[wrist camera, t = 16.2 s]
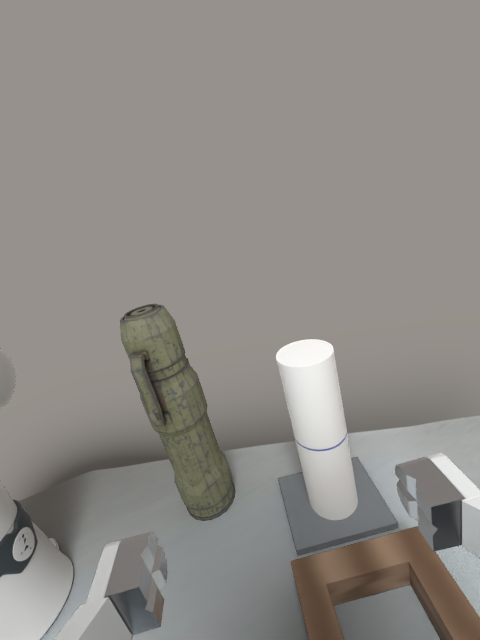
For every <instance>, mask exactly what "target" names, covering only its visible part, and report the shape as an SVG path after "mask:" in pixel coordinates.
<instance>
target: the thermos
mask: <svg viewBox="0 0 480 640" xmlns="http://www.w3.org/2000/svg"><path fill="white" fill-rule="evenodd" d="M120 328H121V340H122V343H123V345H124V348H125V350H126V352H127V355H128V357H129V359H130V363H131V372H132V375H133V377H134V380H135V382H136V385H137V387H138V390H139V392H140V398H141V401H142V403H143V406H144V408H145V410H146V412H147V415H148V417H149V420H150V422H151V425H152V427H153V428H154V430H156V431H157V432H158V433H159V435H160V438H161V440H162V443H163V445H164V447H165V450H166V452H167V454H168V457H169V460H170V462H171V464H172V467H173V469H174V472H175V483H176V486H177V488H178V491H179V493H180V495H181V498H182V500H183V502H184V504H185V505H186V507H187V510H188V511H189V513H190V515H191V516H192V517H194V518H195V519H198V520H202V521H205V520H212V519H214V518H217V517H219V516H220V515H222V514H223V513H224V512H226V511H227V509H228V508H229V507H230V506H231V504H232V502H233V500H234V497H235V488H234V484H233V482H232V476H231V472H230V469H229V466H228V464H227V461H226V458H225V455H224V454H223V453H222V452H221V451H220V450H219V447H218V444H217V441H216V438H215V435H214V432H213V429H212V426H211V423H210V420H209V417H208V415H207V403H206V399H205V396H204V393H203V390H202V387H201V384H200V382H199V378H198V376H197V373H196V372H195V371H194V370H193V368H192V367H191V366H190V364H189V362H188V359H187V358H186V357H185V350H184V347H183V344H182V341H181V338H180V335H179V332H178V330H177V326H176V323H175V321H174V319H173V318H172V316H171V315H170V314H169V312H168V311H167V310H166V308H165V307H164V306H163V305H158V304H149V305H145V306H141V307H138V308H136V309H133V310H131V311H129V312H127V313H126V314H125V315H124V317H122V318H121V320H120Z"/></svg>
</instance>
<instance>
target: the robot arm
mask: <svg viewBox="0 0 480 640" xmlns="http://www.w3.org/2000/svg"><path fill="white" fill-rule="evenodd" d="M15 383H16V375H15V369H14V367H13V364H12V362H11V360H10V359H9V357H8V356H7V354H6V353H5V352H4V351H3V350H2V349H1V348H0V409H1V408H2V407H4V406H5V405H7V404H8V403H9V401H10V399H11V397H12V395H13V392H14V389H15ZM395 474H396V475H397V477H398V478H399V481H398V483H397V491H398V494H399V497H400V500H401V502H402V504H403V506H404V508H405V510H406V511H407V513H408V514H409V516H410V517H412V518H414V519H416V520H417V521H418V525H419V531H420V532H421V534H422V535H423V537H424V538H425V540H426V541H427V542H428V544H429V545H430V547H431V548H432V550H433V551H438V550H442V549H446V548H451V547H455V546H459V545H462V547H464V548H465V549H467V550H468V551H469V552H471V553H472V554H474V555H475V556H477V557H478V558H480V489H479V488H478V487H477V486H476V485H475V484H474V483H473V482H472V481H471V480H470V479H469V478H468V477H467V476H466V475H465V474H464V473H463V472H462V471H461V470H460V469H459V468H458V467H457V466H456V465H455V464H454V463H453V462H451V461H450V460H449V459H448V458H447V457H446V456H445V455H444V454H442V453H438V454H435V455H431V456H427V457H423V458H419V459H416V460H412V461H409V462H405V463H402V464H398V465H396V467H395ZM157 541H158V538H157V536H156V535H155V533H154V532H151V533H147V534H143V535H139V536H134V537H130V538H126V539H122V540H119V541H115V542H111V543H107V544H106V546H105V547H104V549H103V551H102V554H101V557H100V561H99V564H98V567H97V570H96V573H95V576H94V579H93V582H92V585H91V588H90V591H89V594H88V597H87V600H86V603H84V604H81V605H80V606H79V607H78V609H77V610H76V611H75V613H74V614H73V615H72V616H71V618H70V619H69V620H68V622H67V623H66V624H65V626H64V627H63V628H62V629H61V631H60V632H59V633H58V635H57V636H56V637H55V638H54V640H132V638H133V636H132V635H135V634H138V633H142V632H145V631H148V630H151V629H154V628H158V627H161V620H162V612H163V604H164V599H163V597H162V595H161V593H160V592H161V590H162V589H163V587H164V586H165V584H166V579H167V560H166V556H165V553H164V551H163V548H161V547H159V546H157ZM72 581H73V565H72V562H71V560H70V559H69V558H68V557H67V556H66V555H64V554H63V553H62V552H60V551H59V546H58V543H57V542H56V540H55V539H54V538H49V539H48V537H47V536H46V535H45V534H44V533H43V532H42V531H41V530H40V529H39V528H38V526H37V525H36V524H35V523H34V522H33V521H32V520H31V518H30V517H29V515H28V514H27V512H26V509H25V508H24V507H23V506H22V505H21V504H20V503H19V502H18V501H16V500H13V499H12V498H11V496H10V495H9V493H8V492H7V490H6V489H5V487H4V486H3V485H2V483H1V481H0V640H40V638H41V637H42V636H43V635H44V634H45V633H46V631H47V630H48V629H49V627H50V626H51V625H52V623H53V622H54V620H55V619H56V617H57V616H58V614H59V612H60V611H61V609H62V607H63V605H64V603H65V601H66V599H67V597H68V594H69V592H70V589H71V585H72Z"/></svg>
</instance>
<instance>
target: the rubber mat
mask: <svg viewBox="0 0 480 640" xmlns="http://www.w3.org/2000/svg"><path fill="white" fill-rule="evenodd" d="M351 460H352V466H353V472H354V479H355V485H356V491H357V497H358V504H357V508H356V509H355V511H354V512H353V513H352V514H351V515H350V516H349V517H347V518H345V519H342V520H329V519H326V518H323V517H321V516H320V515H318V514H317V513H316V512H315V511H314V510H313V509H312V507H311V505H310V501H309V497H308V493H307V489H306V485H305V480H304V476H303V472H300V473H296V474H292V475H289V476H285V477H281V478H278V481H279V485H280V488H281V492H282V496H283V500H284V504H285V508H286V511H287V515H288V519H289V523H290V527H291V531H292V535H293V538H294V542H295V546H296V550H297V554H298V555H301V554H305V553H308V552H312V551H316V550H319V549H323V548H326V547H330V546H334V545H337V544H341V543H345V542H348V541H352V540H356V539H359V538H363V537H367V536H370V535H374V534H378V533H381V532H385V531H389V530H392V529H396V528H398V522H397V521H396V519H395V517H394V516H393V514H392V512H391V511H390V509H389V508H388V506H387V504H386V503H385V501H384V499H383V498H382V496H381V494H380V493H379V491H378V490H377V488H376V486H375V485H374V483H373V481H372V480H371V478H370V477H369V475H368V473H367V472H366V470H365V468H364V467H363V465H362V464H361V462H360V460H359V459H358V457H355V458H351Z"/></svg>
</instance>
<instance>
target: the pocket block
mask: <svg viewBox="0 0 480 640" xmlns="http://www.w3.org/2000/svg"><path fill="white" fill-rule="evenodd" d="M291 565H292V569H293V573H294V578H295V582H296V586H297V590H298V595H299V599H300V603H301V607H302V612H303V616H304V620H305V624H306V629H307V633H308V637H309V640H344V639H343V636H342V633H341V630H340V626H339V623H338V620H337V617H336V614H335V611H334V607H333V606H334V605H338V604H341V603H345V602H348V601H352V600H356V599H359V598H363V597H367V596H370V595H374V594H378V593H381V592H385V591H388V590H392V589H396V588H399V587H403V586H407V585H410V584H411V586H412V588H413V589H414V591H415V593H416V595H417V597H418V599H419V600H420V602H421V604H422V606H423V608H424V610H425V611H426V613H427V615H428V617H429V619H430V620H431V622H432V624H433V626H434V628H435V630H436V631H437V633H438V635H439V637H440V639H441V640H480V617H479V616H478V614H477V613H476V612H475V610H474V609H473V607H472V606H471V604H470V603H469V601H468V600H467V598H466V597H465V595H464V594H463V592H462V591H461V589H460V588H459V586H458V585H457V583H456V582H455V580H454V579H453V577H452V576H451V574H450V573H449V571H448V570H447V568H446V567H445V565H444V564H443V562H442V561H441V560H440V558H439V557H438V555H437V554H436V552H435V551H433V550H432V548H431V547H430V545H429V544H428V542H427V541H426V540H425V538H424V537H423V535H422V534H421V532H420V531H419V527H418V526H417V527H413V528H410V529H406V530H402V531H399V532H395V533H391V534H388V535H384V536H381V537H377V538H373V539H370V540H366V541H362V542H359V543H355V544H351V545H348V546H344V547H340V548H337V549H333V550H329V551H326V552H322V553H318V554H315V555H311V556H308V557H304V558H300V559H297V560H293V561H291Z"/></svg>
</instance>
